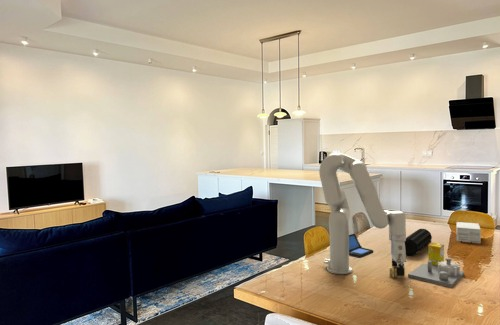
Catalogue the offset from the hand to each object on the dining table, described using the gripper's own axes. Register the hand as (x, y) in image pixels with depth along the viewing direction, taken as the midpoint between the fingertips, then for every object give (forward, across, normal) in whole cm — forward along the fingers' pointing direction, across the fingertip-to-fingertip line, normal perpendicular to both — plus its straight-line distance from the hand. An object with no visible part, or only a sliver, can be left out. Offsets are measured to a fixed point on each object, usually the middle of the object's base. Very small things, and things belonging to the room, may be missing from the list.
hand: (397, 271), depth 177 cm
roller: (+3, +48, -23) cm, 54 cm away
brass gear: (+2, 0, 0) cm, 2 cm away
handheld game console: (+2, +37, +14) cm, 40 cm away
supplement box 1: (+3, +18, -23) cm, 29 cm away
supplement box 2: (+3, +72, -61) cm, 94 cm away
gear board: (+2, +2, -18) cm, 18 cm away
